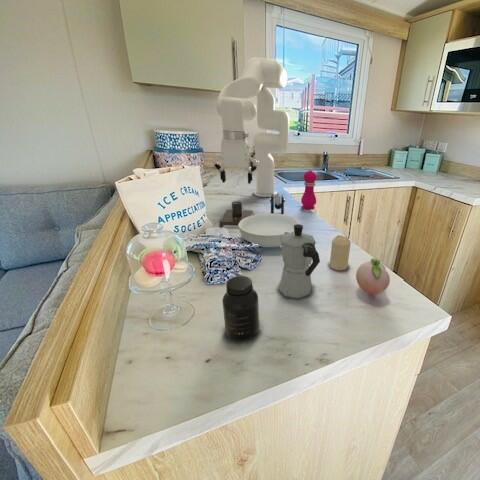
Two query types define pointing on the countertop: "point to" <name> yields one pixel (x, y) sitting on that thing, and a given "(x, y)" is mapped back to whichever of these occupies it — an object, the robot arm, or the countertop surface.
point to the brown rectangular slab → (231, 220)
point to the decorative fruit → (372, 277)
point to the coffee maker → (297, 263)
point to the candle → (340, 253)
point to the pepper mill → (309, 190)
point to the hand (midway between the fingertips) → (236, 182)
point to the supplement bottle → (240, 309)
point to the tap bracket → (273, 204)
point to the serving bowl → (266, 228)
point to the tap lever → (277, 202)
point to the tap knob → (237, 209)
